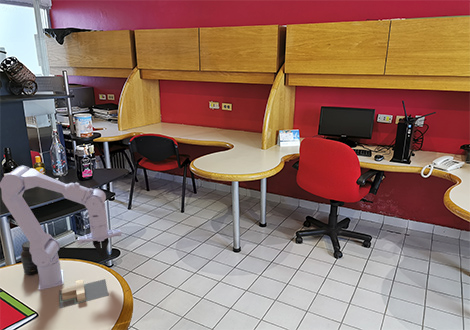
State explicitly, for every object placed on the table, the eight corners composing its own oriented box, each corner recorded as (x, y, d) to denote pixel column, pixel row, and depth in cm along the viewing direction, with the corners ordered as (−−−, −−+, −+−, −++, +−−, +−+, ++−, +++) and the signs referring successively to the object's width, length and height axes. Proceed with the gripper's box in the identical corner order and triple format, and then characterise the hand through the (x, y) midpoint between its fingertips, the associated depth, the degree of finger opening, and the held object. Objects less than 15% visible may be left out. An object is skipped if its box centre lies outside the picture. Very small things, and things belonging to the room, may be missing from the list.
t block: (62, 291, 123) (61, 284, 122) (84, 286, 126) (83, 279, 125) (63, 305, 116) (61, 298, 115) (85, 299, 119) (84, 292, 118)
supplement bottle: (26, 267, 136) (20, 240, 132) (45, 264, 138) (40, 237, 135) (22, 277, 130) (16, 249, 126) (43, 274, 132) (37, 246, 128)
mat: (59, 291, 123) (59, 290, 123) (105, 279, 130) (105, 279, 130) (59, 309, 115) (59, 308, 115) (108, 296, 121) (108, 295, 121)
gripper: (76, 232, 117) (81, 267, 121) (121, 224, 123) (124, 257, 127) (75, 223, 123) (80, 256, 127) (118, 216, 129) (121, 248, 133)
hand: (102, 256), depth 128 cm, fingers closed
